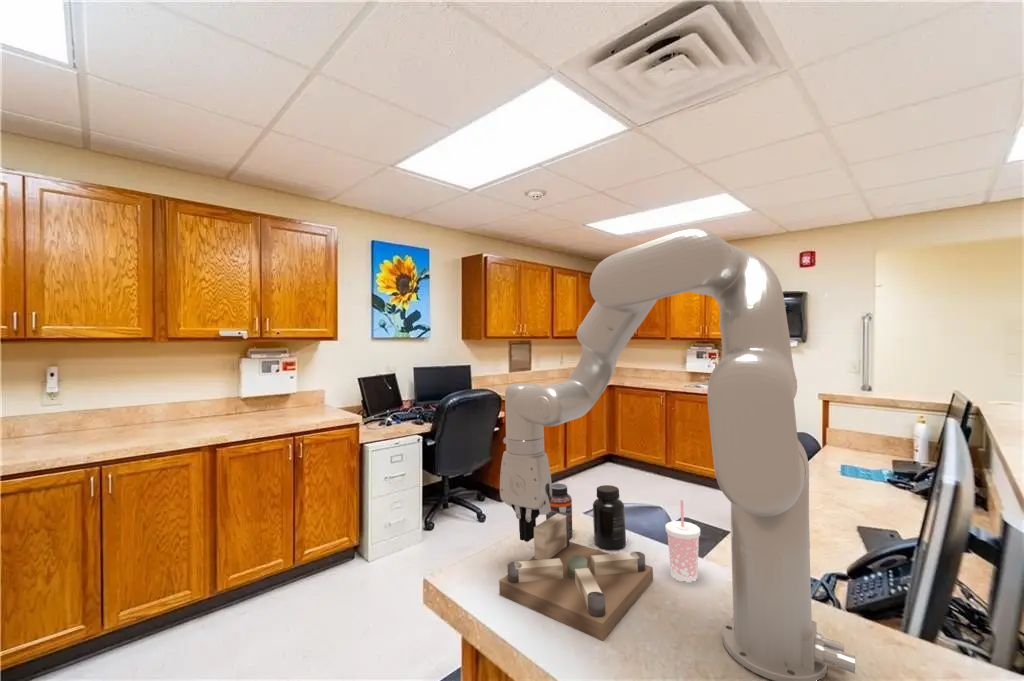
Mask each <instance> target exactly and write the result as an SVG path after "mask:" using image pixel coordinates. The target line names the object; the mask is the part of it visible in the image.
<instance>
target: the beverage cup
mask: <svg viewBox="0 0 1024 681" xmlns="http://www.w3.org/2000/svg"><path fill="white" fill-rule="evenodd" d="M684 513H685V512H684V500H682V499H680V520H672V521H669V522H667V523H666V524H665V525H664V526H665V533H667V544H668V553H669V554H668V555H669V556H668V557H669V567H670V574H671V577H672V578H675V579H674V580H675V581H676V580H677V581H678V580H679V582H682V581H686V582H685V583H691V582H690V581H694V580H696V579H698V574H699V573H698V570H699V567H698V566H699V542H700V536H701V527H699V526H698V525H697V524H694V523H692V522H688V521H685V517H684ZM696 581H697V580H696ZM694 582H695V581H694Z"/></svg>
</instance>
